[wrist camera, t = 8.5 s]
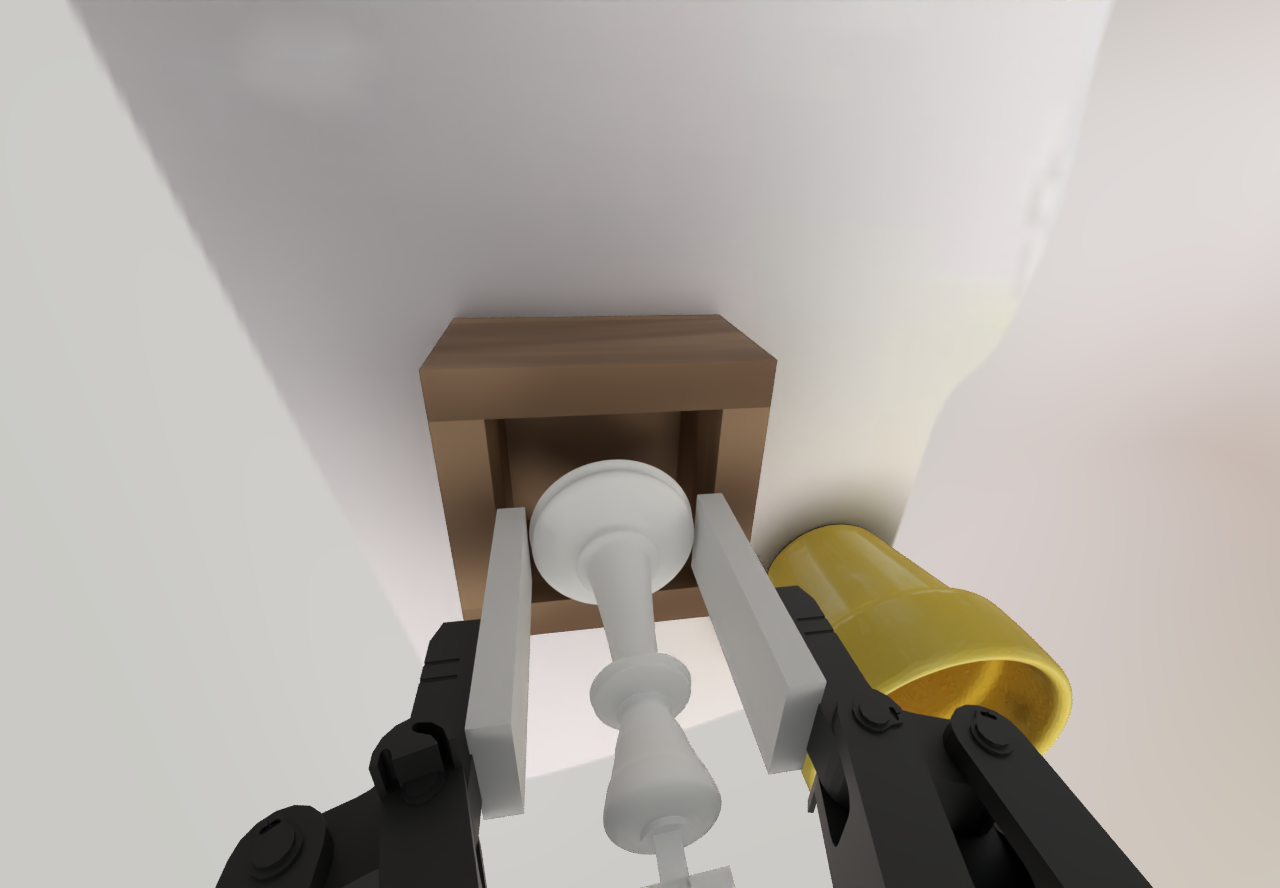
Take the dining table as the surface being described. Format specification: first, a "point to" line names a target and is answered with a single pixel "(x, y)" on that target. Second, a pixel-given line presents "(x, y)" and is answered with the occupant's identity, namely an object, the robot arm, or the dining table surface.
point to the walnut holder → (590, 429)
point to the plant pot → (924, 635)
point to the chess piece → (634, 651)
